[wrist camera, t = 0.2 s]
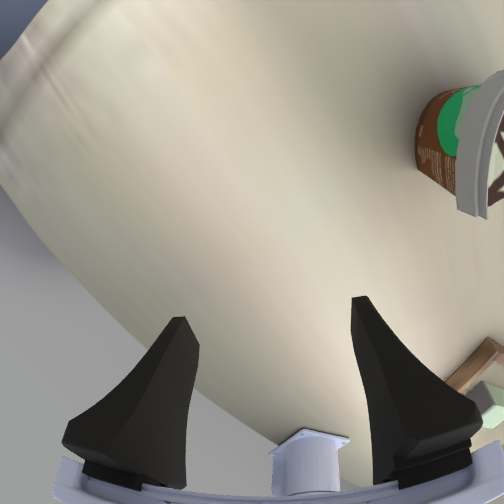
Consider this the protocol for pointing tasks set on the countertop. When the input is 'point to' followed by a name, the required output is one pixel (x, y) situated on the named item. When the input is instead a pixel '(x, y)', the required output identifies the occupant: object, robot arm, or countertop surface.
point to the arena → (476, 365)
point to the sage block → (488, 403)
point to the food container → (465, 144)
